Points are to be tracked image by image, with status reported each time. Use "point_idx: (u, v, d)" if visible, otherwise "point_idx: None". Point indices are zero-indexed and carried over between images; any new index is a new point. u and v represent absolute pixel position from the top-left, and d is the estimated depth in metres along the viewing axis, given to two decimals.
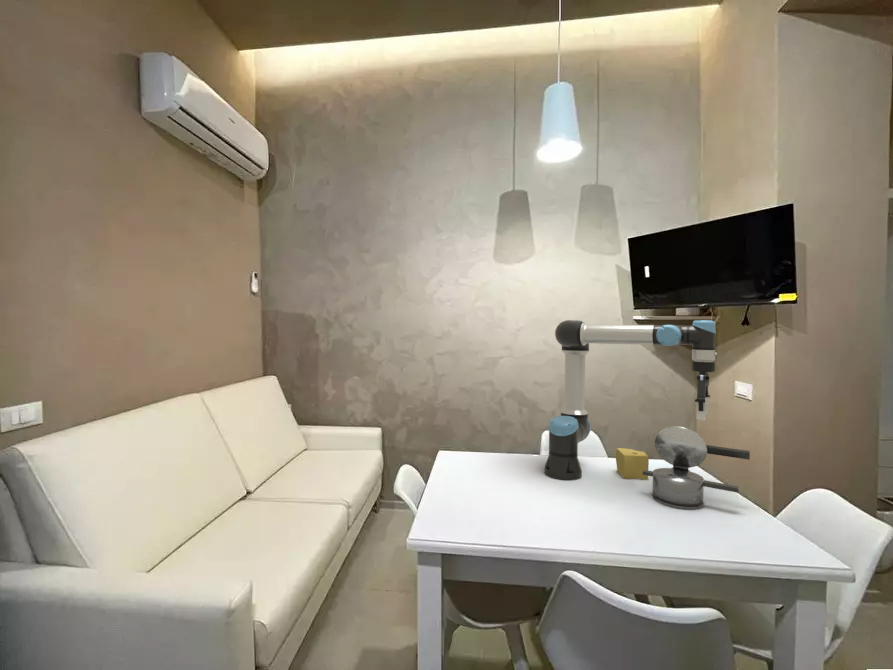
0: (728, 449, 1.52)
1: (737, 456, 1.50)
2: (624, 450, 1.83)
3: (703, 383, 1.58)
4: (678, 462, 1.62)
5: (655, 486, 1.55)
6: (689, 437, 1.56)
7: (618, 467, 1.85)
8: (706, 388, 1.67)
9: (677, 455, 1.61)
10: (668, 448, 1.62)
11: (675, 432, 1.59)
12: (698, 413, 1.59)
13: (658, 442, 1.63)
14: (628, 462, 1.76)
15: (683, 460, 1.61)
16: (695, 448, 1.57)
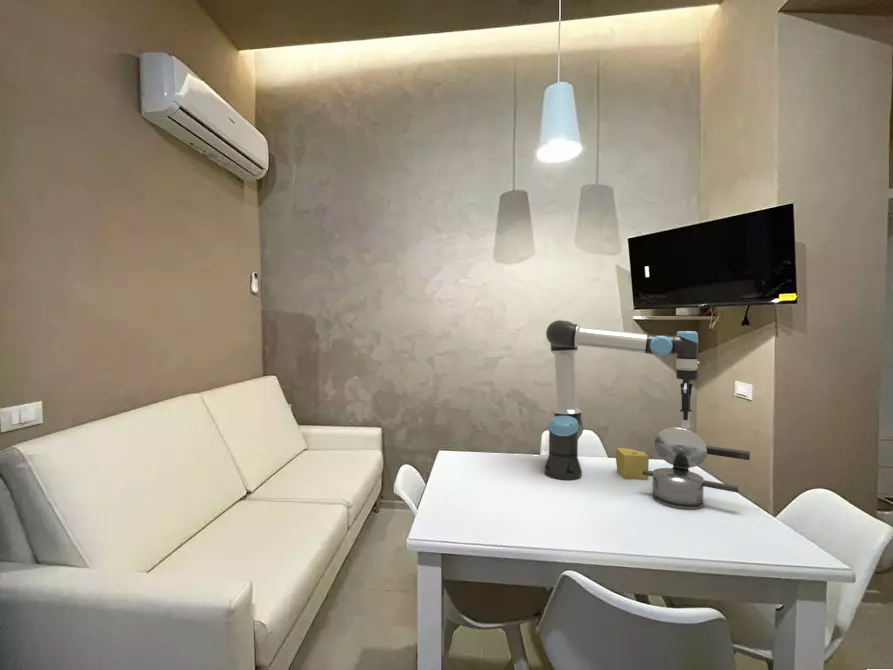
0: (728, 450, 1.51)
1: (737, 457, 1.50)
2: (624, 450, 1.83)
3: (686, 396, 1.70)
4: (678, 462, 1.62)
5: (655, 486, 1.55)
6: (689, 438, 1.56)
7: (618, 467, 1.85)
8: (689, 398, 1.75)
9: (677, 455, 1.61)
10: (668, 449, 1.62)
11: (675, 433, 1.58)
12: (683, 422, 1.74)
13: (658, 443, 1.63)
14: (628, 462, 1.76)
15: (683, 460, 1.60)
16: (695, 449, 1.56)
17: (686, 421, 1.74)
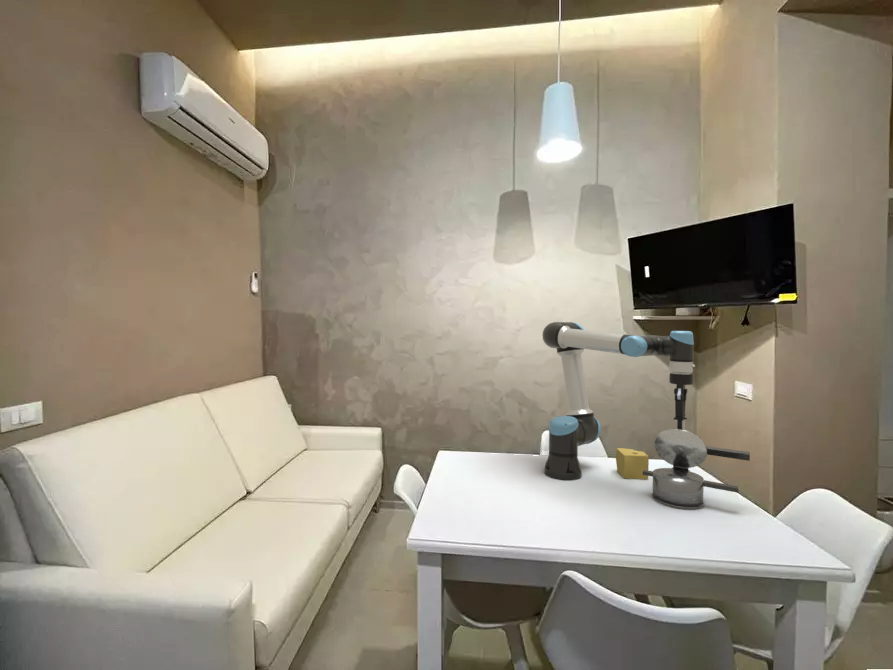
0: (728, 450, 1.51)
1: (737, 457, 1.50)
2: (624, 450, 1.83)
3: (680, 402, 1.54)
4: (678, 462, 1.62)
5: (655, 486, 1.55)
6: (689, 439, 1.55)
7: (618, 467, 1.85)
8: (683, 404, 1.58)
9: (677, 456, 1.61)
10: (668, 449, 1.62)
11: (674, 434, 1.57)
12: None
13: (658, 443, 1.63)
14: (628, 462, 1.76)
15: (683, 461, 1.60)
16: (695, 449, 1.56)
17: None
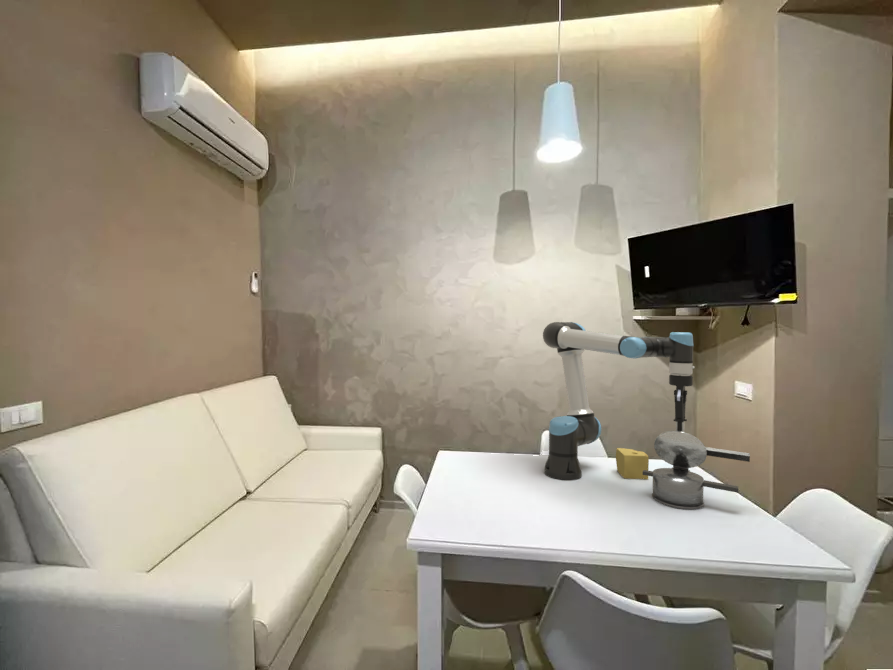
0: (728, 452, 1.50)
1: (737, 458, 1.49)
2: (624, 450, 1.83)
3: (680, 404, 1.53)
4: (678, 463, 1.62)
5: (655, 486, 1.55)
6: (688, 441, 1.55)
7: (618, 467, 1.85)
8: (683, 406, 1.58)
9: (677, 457, 1.60)
10: (667, 450, 1.61)
11: (674, 436, 1.57)
12: None
13: (657, 445, 1.62)
14: (628, 462, 1.76)
15: (683, 461, 1.60)
16: (695, 451, 1.55)
17: None
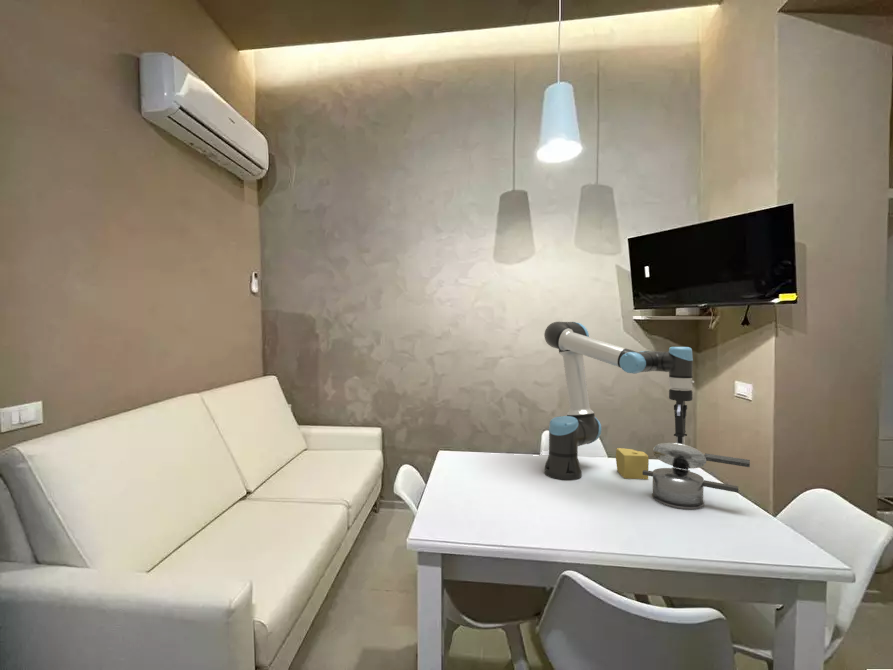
0: (727, 459, 1.48)
1: (737, 464, 1.48)
2: (624, 450, 1.83)
3: (680, 419, 1.53)
4: (678, 464, 1.61)
5: (655, 486, 1.55)
6: (687, 451, 1.52)
7: (618, 467, 1.85)
8: (683, 421, 1.58)
9: (676, 460, 1.59)
10: (667, 456, 1.60)
11: (673, 447, 1.54)
12: None
13: (656, 452, 1.60)
14: (628, 462, 1.76)
15: (682, 464, 1.59)
16: (694, 458, 1.53)
17: None
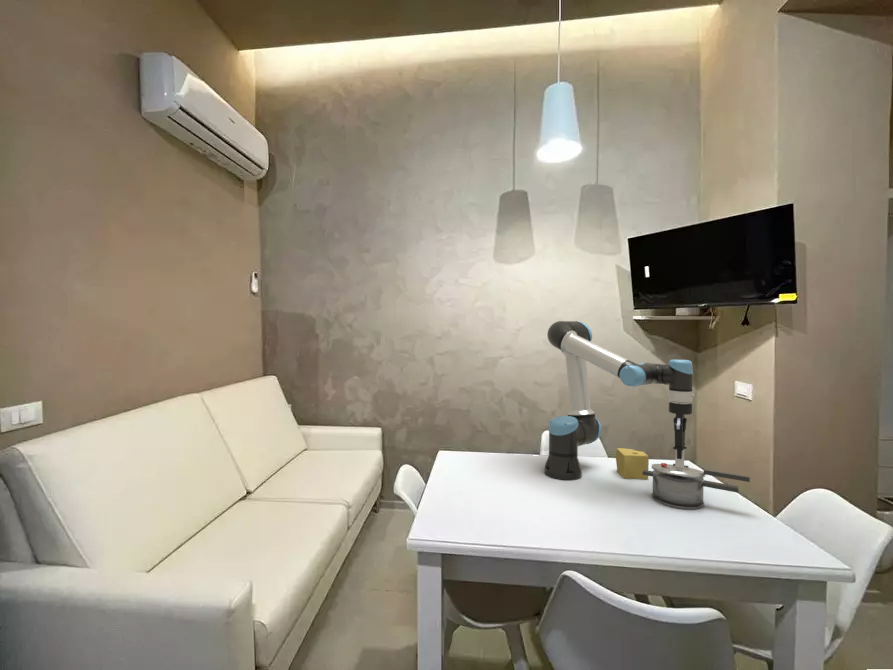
0: (727, 476, 1.46)
1: None
2: (624, 450, 1.83)
3: (680, 432, 1.53)
4: None
5: (655, 486, 1.55)
6: None
7: (618, 467, 1.85)
8: None
9: None
10: (666, 468, 1.58)
11: None
12: (677, 460, 1.57)
13: None
14: (628, 462, 1.76)
15: None
16: None
17: (680, 460, 1.57)
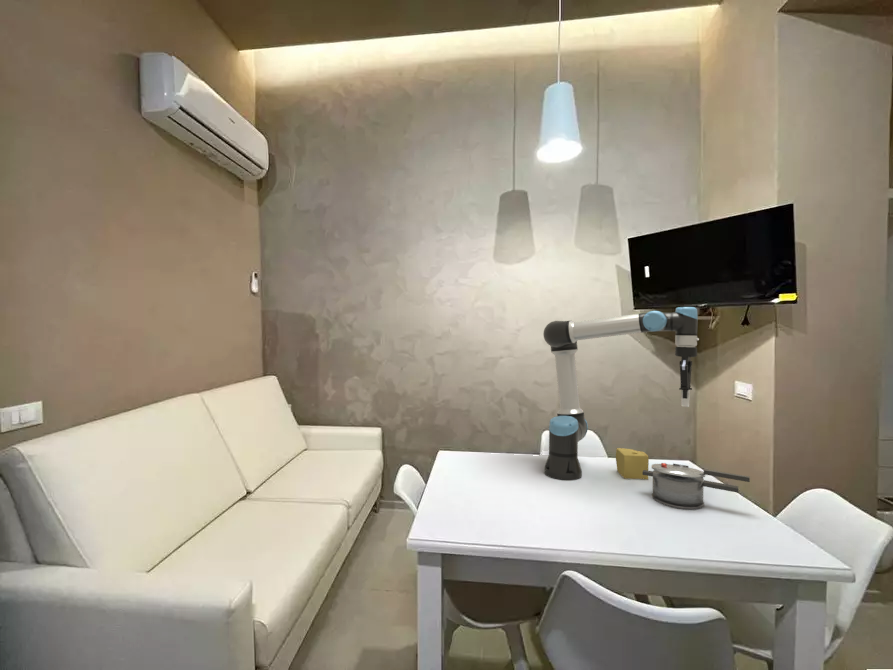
0: (727, 476, 1.46)
1: None
2: (624, 450, 1.83)
3: (685, 373, 1.66)
4: None
5: (655, 486, 1.55)
6: None
7: (618, 467, 1.85)
8: (688, 376, 1.70)
9: None
10: None
11: None
12: (683, 400, 1.70)
13: None
14: (628, 462, 1.76)
15: None
16: None
17: (686, 399, 1.70)
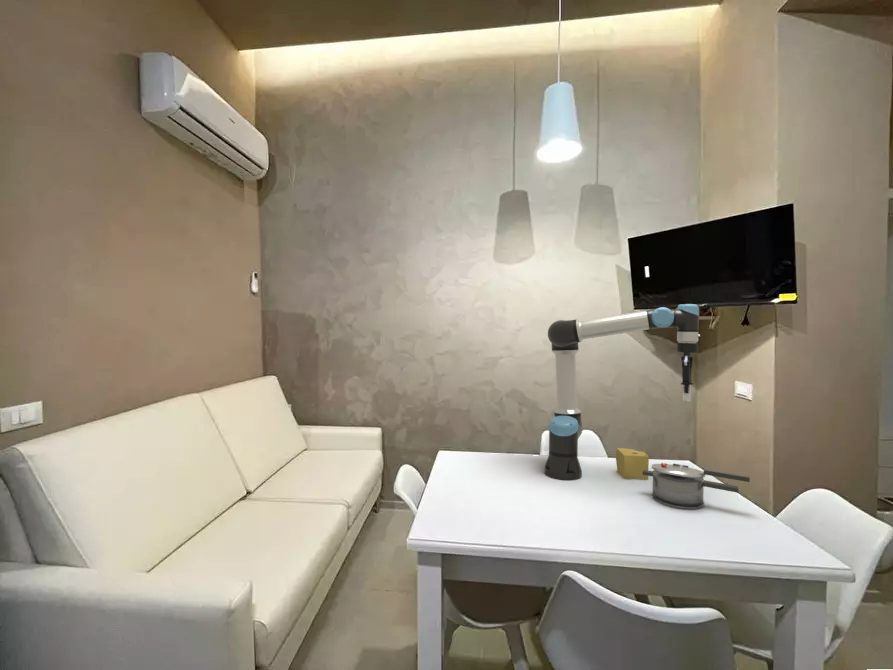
0: (727, 476, 1.46)
1: None
2: (624, 450, 1.83)
3: (687, 368, 1.70)
4: None
5: (655, 486, 1.55)
6: None
7: (618, 467, 1.85)
8: (689, 371, 1.75)
9: None
10: None
11: None
12: (684, 395, 1.75)
13: None
14: (628, 462, 1.76)
15: None
16: None
17: (687, 394, 1.74)
